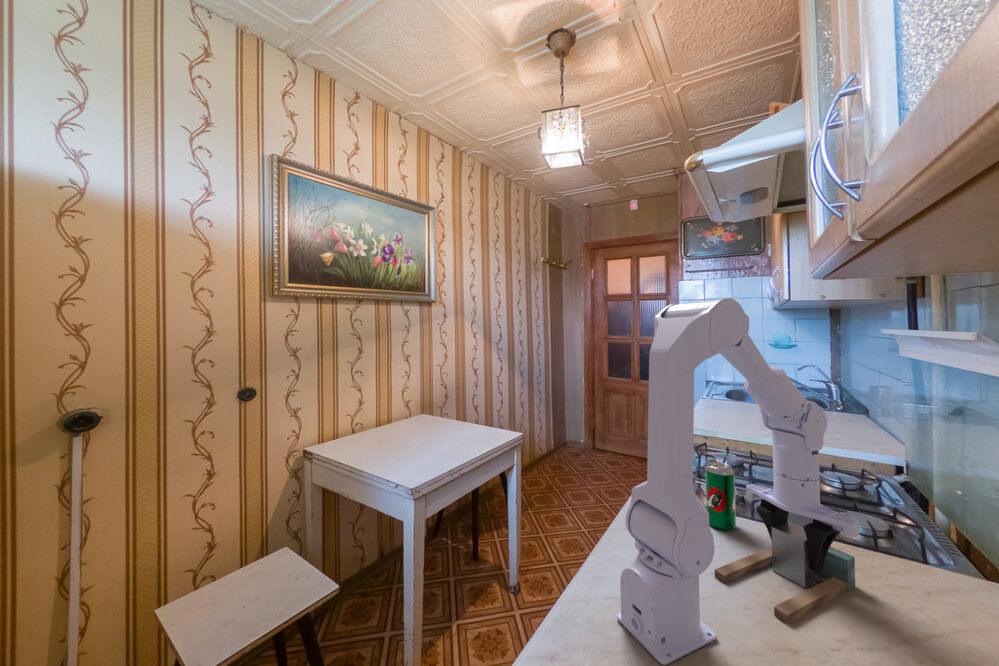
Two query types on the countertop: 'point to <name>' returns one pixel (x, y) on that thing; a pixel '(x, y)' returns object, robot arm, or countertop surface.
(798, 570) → the block
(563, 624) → the countertop surface
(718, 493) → the soda can
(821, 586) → the guide channel
